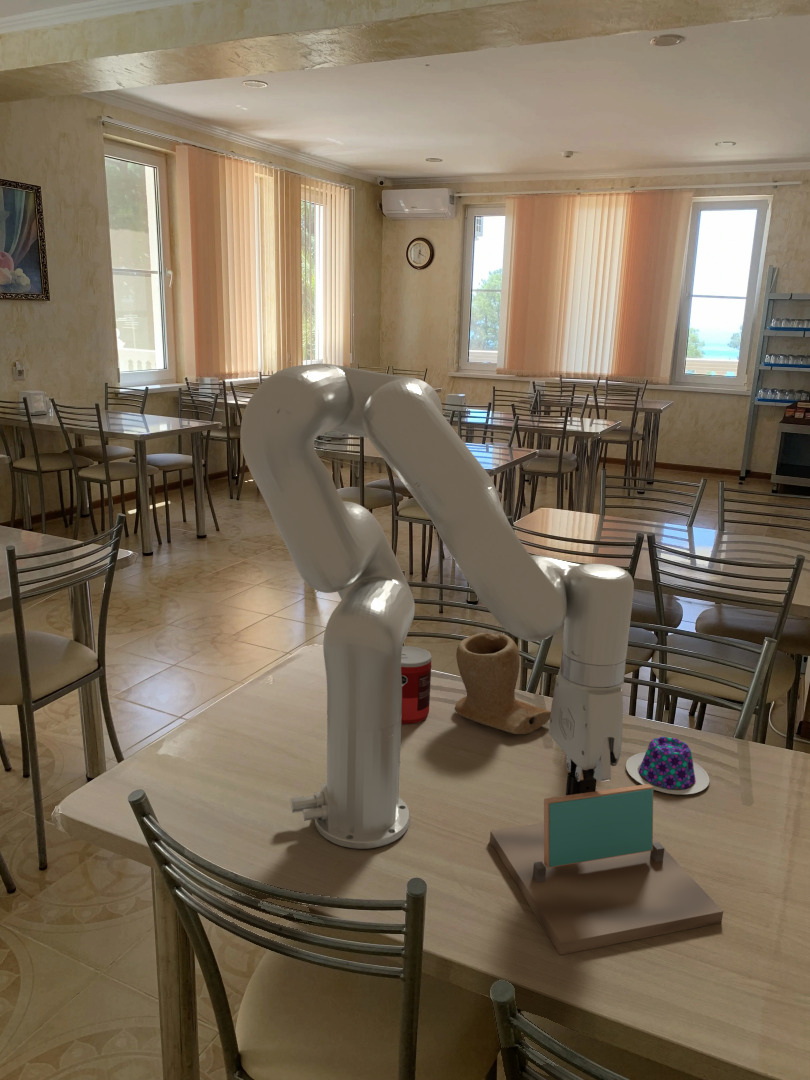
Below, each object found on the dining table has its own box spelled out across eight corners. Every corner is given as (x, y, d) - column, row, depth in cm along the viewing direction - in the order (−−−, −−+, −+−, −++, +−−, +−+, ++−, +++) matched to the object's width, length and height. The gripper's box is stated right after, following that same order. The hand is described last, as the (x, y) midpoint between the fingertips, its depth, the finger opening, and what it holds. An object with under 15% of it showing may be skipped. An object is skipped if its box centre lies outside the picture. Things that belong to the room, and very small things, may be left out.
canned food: (376, 706, 139) (378, 647, 136) (420, 701, 141) (423, 643, 138) (389, 727, 132) (391, 665, 129) (435, 722, 134) (438, 661, 131)
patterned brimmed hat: (618, 753, 127) (622, 723, 125) (696, 758, 126) (700, 728, 125) (633, 796, 115) (637, 763, 114) (719, 802, 114) (724, 769, 113)
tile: (543, 798, 94) (548, 802, 93) (648, 783, 98) (654, 787, 97) (543, 864, 95) (548, 868, 94) (647, 846, 99) (653, 851, 98)
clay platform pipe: (438, 719, 135) (442, 636, 131) (478, 697, 144) (483, 618, 140) (514, 751, 126) (521, 662, 122) (553, 725, 134) (560, 641, 131)
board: (489, 840, 103) (491, 818, 102) (627, 819, 109) (629, 798, 108) (560, 954, 85) (562, 928, 84) (721, 922, 90) (725, 897, 89)
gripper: (536, 646, 102) (527, 775, 107) (595, 697, 88) (581, 843, 93) (589, 641, 104) (577, 768, 109) (655, 691, 90) (638, 833, 95)
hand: (579, 802), depth 101 cm, fingers closed
